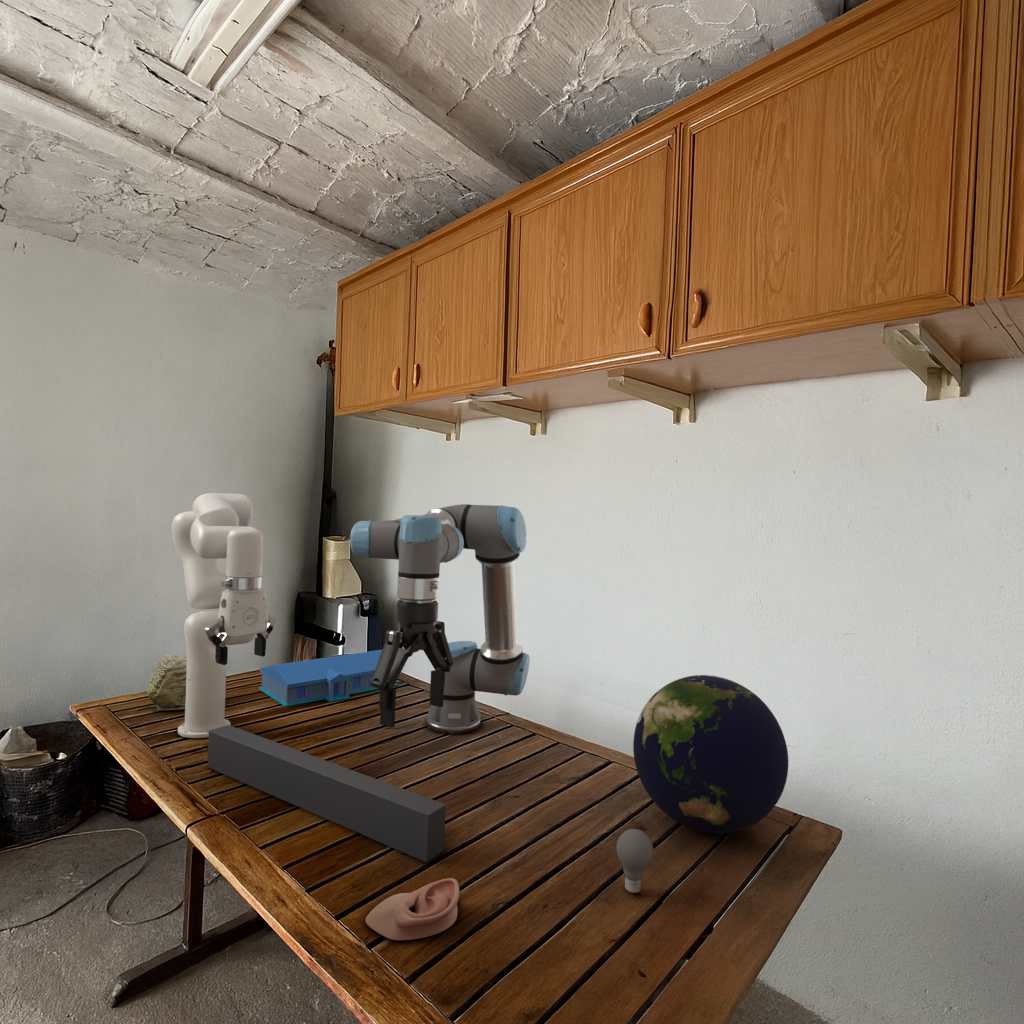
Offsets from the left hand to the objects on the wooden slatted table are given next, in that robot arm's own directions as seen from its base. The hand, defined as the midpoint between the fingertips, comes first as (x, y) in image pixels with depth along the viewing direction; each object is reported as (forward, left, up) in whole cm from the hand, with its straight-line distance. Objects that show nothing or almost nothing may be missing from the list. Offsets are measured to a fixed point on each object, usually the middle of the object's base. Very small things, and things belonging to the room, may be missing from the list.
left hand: (241, 659), depth 143 cm
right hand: (+46, +21, -2) cm, 51 cm away
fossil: (-54, -4, -26) cm, 60 cm away
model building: (-52, +39, -26) cm, 70 cm away
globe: (+69, +76, -26) cm, 106 cm away
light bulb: (+77, +47, -26) cm, 94 cm away
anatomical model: (+65, +13, -26) cm, 71 cm away
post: (+22, +10, -26) cm, 36 cm away
